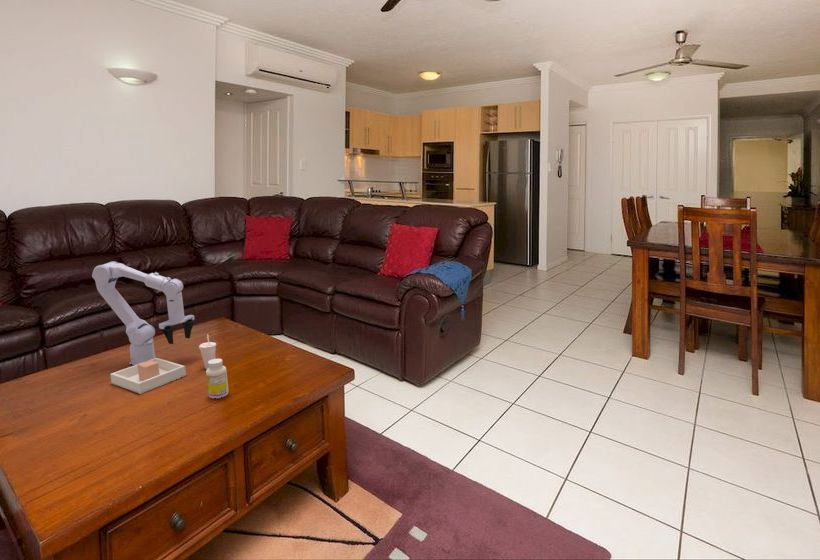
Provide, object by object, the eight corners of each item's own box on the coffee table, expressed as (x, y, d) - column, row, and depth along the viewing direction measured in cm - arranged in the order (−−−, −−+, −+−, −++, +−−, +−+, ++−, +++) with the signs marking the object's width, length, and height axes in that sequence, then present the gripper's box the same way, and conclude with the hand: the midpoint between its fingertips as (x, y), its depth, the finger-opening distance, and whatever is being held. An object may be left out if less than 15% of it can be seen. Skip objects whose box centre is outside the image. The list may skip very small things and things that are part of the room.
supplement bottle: (212, 391, 164) (208, 357, 162) (231, 390, 165) (227, 356, 162) (205, 399, 158) (201, 365, 155) (225, 398, 158) (221, 364, 156)
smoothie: (212, 370, 182) (208, 337, 179) (197, 369, 183) (194, 336, 180) (221, 364, 188) (218, 332, 185) (207, 363, 189) (204, 331, 186)
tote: (111, 383, 171) (110, 373, 170) (157, 366, 186) (156, 357, 185) (140, 394, 162) (138, 383, 161) (186, 375, 177) (185, 366, 177)
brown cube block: (139, 379, 173) (137, 364, 172) (152, 374, 177) (150, 360, 176) (147, 382, 171) (145, 367, 169) (159, 377, 175) (157, 362, 174)
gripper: (165, 314, 178) (169, 347, 181) (197, 306, 190) (201, 337, 193) (154, 312, 181) (158, 344, 184) (186, 304, 194) (190, 334, 197)
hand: (179, 340), depth 189 cm, fingers open, 7 cm apart
